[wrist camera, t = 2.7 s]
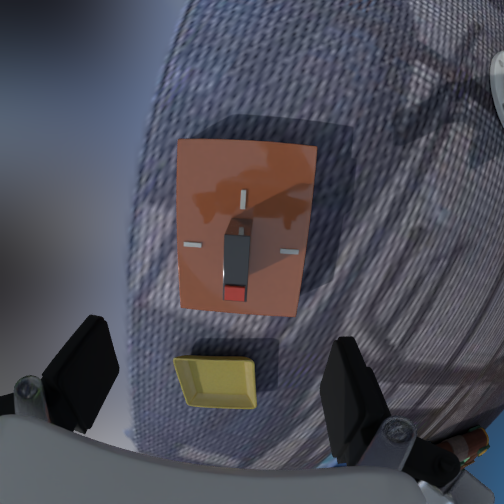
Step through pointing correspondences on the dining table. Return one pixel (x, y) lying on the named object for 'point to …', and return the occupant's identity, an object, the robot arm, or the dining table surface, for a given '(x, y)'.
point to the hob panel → (245, 207)
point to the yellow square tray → (217, 381)
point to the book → (467, 445)
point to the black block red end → (237, 259)
